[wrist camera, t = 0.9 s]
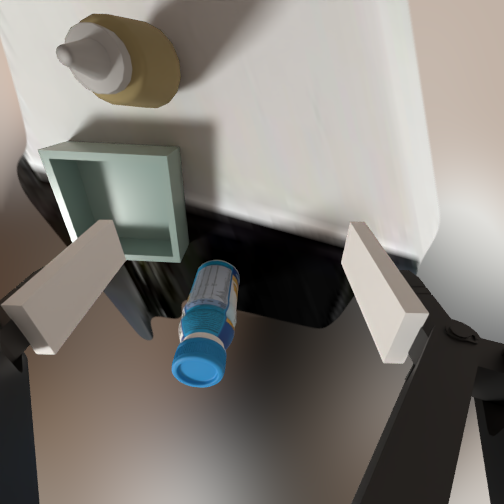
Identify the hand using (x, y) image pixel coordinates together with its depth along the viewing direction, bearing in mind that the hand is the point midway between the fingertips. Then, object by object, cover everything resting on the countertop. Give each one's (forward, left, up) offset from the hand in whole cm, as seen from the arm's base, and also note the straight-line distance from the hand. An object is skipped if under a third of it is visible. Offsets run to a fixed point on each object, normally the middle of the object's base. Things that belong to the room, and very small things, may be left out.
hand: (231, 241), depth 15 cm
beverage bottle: (+23, -5, -27) cm, 36 cm away
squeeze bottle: (-9, -12, -27) cm, 31 cm away
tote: (+8, -18, -27) cm, 33 cm away
